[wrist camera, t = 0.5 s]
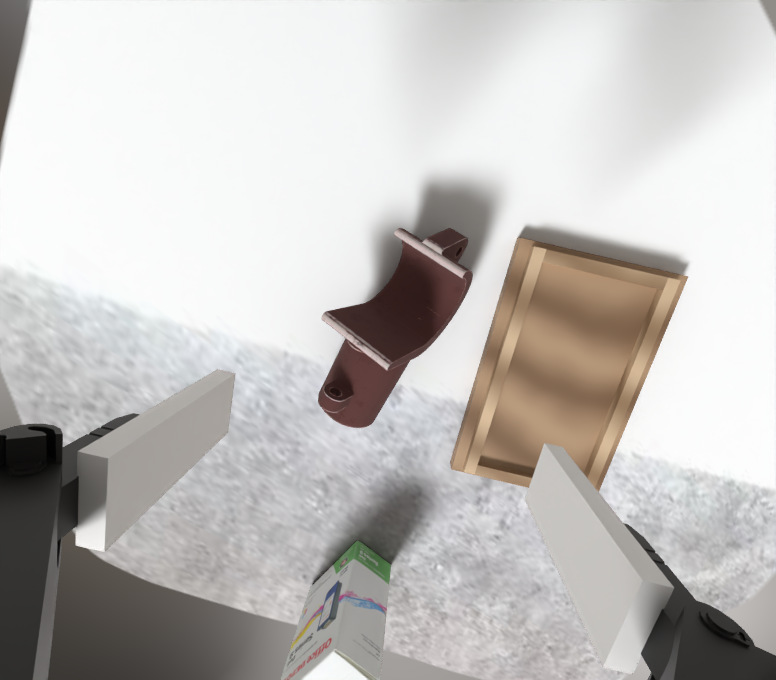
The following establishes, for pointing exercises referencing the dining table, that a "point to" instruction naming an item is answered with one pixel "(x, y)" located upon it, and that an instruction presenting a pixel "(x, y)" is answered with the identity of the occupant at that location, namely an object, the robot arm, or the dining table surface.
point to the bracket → (394, 326)
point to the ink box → (343, 621)
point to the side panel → (563, 361)
